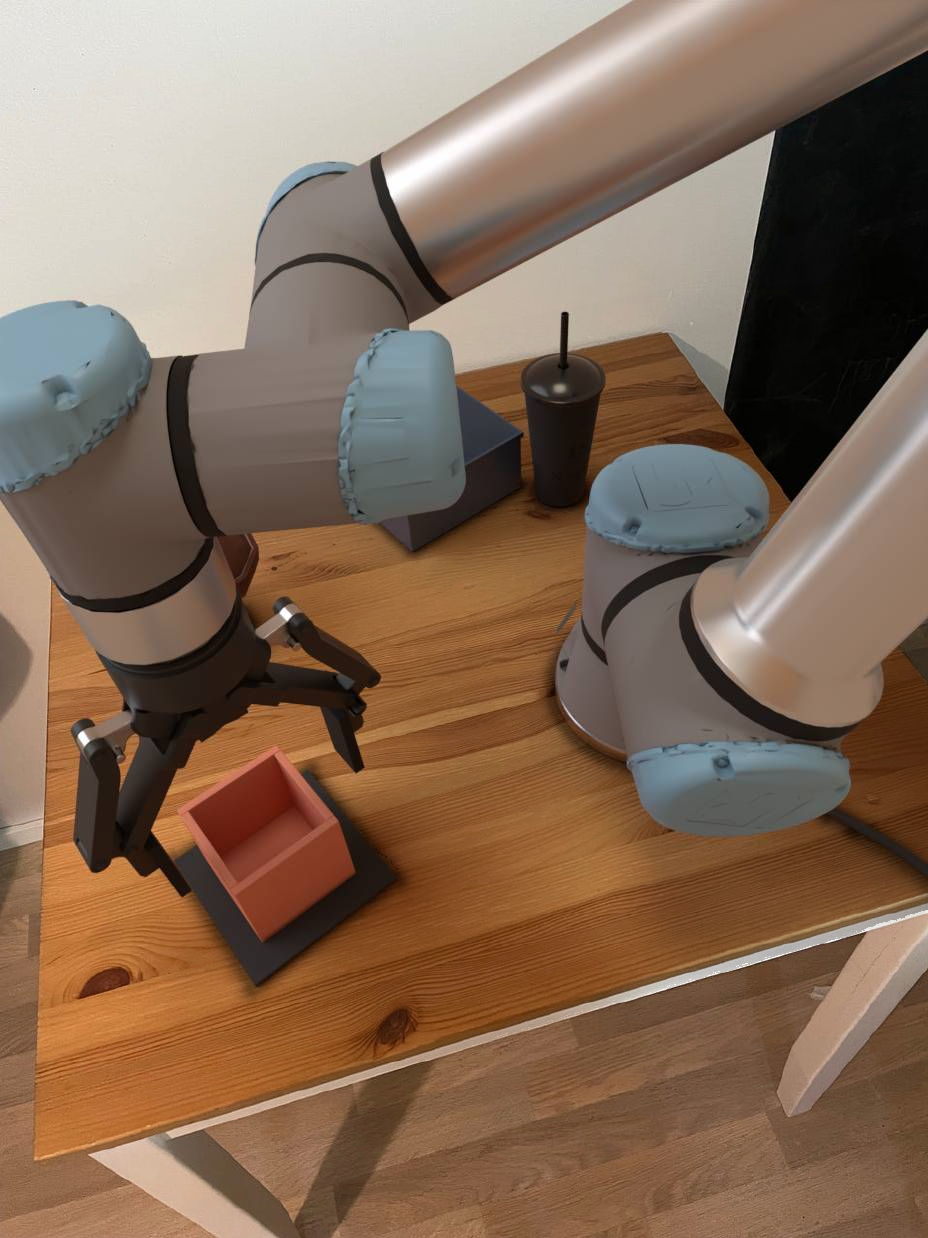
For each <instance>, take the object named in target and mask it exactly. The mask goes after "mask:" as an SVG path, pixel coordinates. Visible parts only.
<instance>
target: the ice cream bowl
mask: <svg viewBox="0 0 928 1238" xmlns="http://www.w3.org/2000/svg"><path fill="white" fill-rule="evenodd" d="M217 538H218V541H219V543H220V546H221V548H222V551H223V553H224V555H225V558H226V560H227V563H228V565H229V568H230V570H231V572H232V575H233V577H234V580H235V586H236V587H237V589H238V591H239V593H240V595H241V598H242V599H244V598H245V597H246V596H247V593H248V592H249V589H250V586H251V584H252V581H253V578H254V576H255V574H256V571H257V567H258V565H259V562H260V549H259V545H258V543H257V542H256V540H255V538H254V535H253V533H249V534H238V535H229V536H219V537H217Z"/></svg>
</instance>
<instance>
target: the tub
mask: <svg viewBox="0 0 928 1238" xmlns="http://www.w3.org/2000/svg"><path fill="white" fill-rule="evenodd" d="M301 774H302V773H300V771H299V770H298V769H297V767H296V766H295V765H294V764H293V763H292V761H290V759H289V758H288V756H287V755H286V754H285V753H284V752H283V751H282V750H281V748H280V747H279V745H277V744H275V745H273V746H272V747H270V748H269V749H267V750H266V751H265V752H263V753H262V754H260V755H258V756H257V757H256V758H254V759H252V760H251V761H250V762H247V763H246V764H245V765H243V766H242V767H240V768H239V769H237V770H236V771H234V772H233V773H231V774H229V775H228V776H226V777H225V778H223V779H222V780H220V781H219V782H218V783H216V784H214V785H213V786H211V787H210V788H208V789H206V790H205V791H204V792H202V793H201V794H199V795H197V796H196V797H195V798H193V799H191V800H190V801H188V802H187V803H186V804H184V805H182V806H181V807H179V808H178V809H177V810H176V811H177V814H178V815H179V817H180V818H181V820H182V822H183V823H184V825H185V827H186V829H187V831H188V832H189V833H190V835H191V836H192V838H193V840H194V842H195V843H196V845H198V847H199V848H200V850H201V852H202V853H203V855H204V857H205V858H206V860H207V862H208V863H209V865H210V866H211V868H212V869H213V871H214V872H215V874H216V875H217V877H218V878H219V880H220V881H221V882H222V884H223V885H224V887H225V888H226V890H227V891H228V893H229V894H230V896H231V897H232V899H233V900H234V902H235V903H236V905H237V906H238V907H239V909H240V910H241V912H242V913H243V915H244V916H245V918H246V919H247V921H248V922H249V924H250V925H251V927H252V928H253V930H254V931H255V933H256V934H257V935H258V937H259V938H260V940H261V941H262V942H264V941H266V940H267V939H268V938H270V937H271V936H272V935H274V934H275V933H276V932H278V931H279V930H281V929H282V928H283V927H285V926H286V925H287V924H289V923H290V922H291V921H293V920H294V919H295V918H297V917H298V916H299V915H301V914H302V913H303V912H305V911H306V910H307V909H309V908H310V907H311V906H313V905H314V904H315V903H317V902H318V901H319V900H321V899H322V898H323V897H325V896H326V895H327V894H329V893H330V892H331V891H333V890H334V889H335V888H337V887H338V886H339V885H341V884H342V883H344V882H345V881H346V880H348V879H349V878H350V877H352V876H353V875H354V874H355V873H356V872H355V869H354V866H353V863H352V860H351V857H350V854H349V851H348V848H347V845H346V842H345V839H344V836H343V833H342V830H341V827H340V824H339V821H338V820H337V818H336V817H335V816H334V815H333V813H332V812H331V811H330V810H329V809H328V807H327V806H326V805H325V804H324V802H323V801H322V800H321V799H320V797H319V796H318V795H317V794H316V793H315V791H314V790H313V789H312V788H311V786H310V785H309V784H308V783H307V781H306V780H305V779H304V778H303V776H302V775H301Z"/></svg>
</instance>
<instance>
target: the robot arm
mask: <svg viewBox="0 0 928 1238" xmlns="http://www.w3.org/2000/svg"><path fill="white" fill-rule="evenodd" d="M927 51H928V0H630V1H629V2H627V3H625V4H623V6H621V7H619V8H617V9H615V10H614V11H613V12H611V13H609V14H608V15H606V16H605V17H603V18H600V19H599V20H598V21H596V22H594V23H593V24H591V25H590V26H588V27H586V28H584V29H583V30H581V31H580V32H578V33H576V34H575V35H572V36H571V37H570V38H568V39H566V40H565V41H563V42H561V43H560V44H559V45H556V46H555V47H554V48H552V49H550V50H548V51H547V52H545V53H543V54H542V55H540V56H539V57H536V59H534V60H532V61H530V62H528V63H527V64H526V65H524V66H522V67H520V68H519V69H517V70H516V71H515V72H512V73H511V74H509V75H507V76H506V77H504V78H503V79H501V80H499V81H498V82H496V83H494V84H492V85H491V86H489V87H488V88H486V89H484V90H483V91H481V92H480V93H478V94H476V95H474V96H473V97H471V98H470V99H468V100H466V101H464V102H463V103H461V104H460V105H457V107H455V108H453V109H451V110H450V111H448V112H447V113H444V114H443V115H442V116H440V117H438V118H437V119H435V120H433V121H432V122H430V123H428V124H426V125H425V126H423V127H422V128H420V129H419V130H417V131H415V132H414V133H412V134H410V135H409V136H407V137H406V138H404V139H402V140H401V141H399V142H397V143H396V144H394V145H392V146H391V147H389V148H388V149H385V150H383V151H382V152H380V153H378V154H377V155H375V156H373V157H371V158H370V159H367V160H366V161H364V162H363V163H361V164H359V165H356V164H354V163H351V162H347V161H330V160H329V161H321V162H313V163H309V164H306V165H303V166H302V167H300V168H298V169H296V170H295V171H293V172H292V173H290V174H289V175H288V176H286V177H285V178H284V179H283V180H282V182H280V183H279V185H278V186H277V188H276V189H275V191H274V192H273V194H272V196H271V198H270V200H269V202H268V205H267V208H266V212H265V214H264V215H265V216H264V217H262V220H261V222H260V225H259V228H258V232H257V235H256V241H255V251H254V267H255V268H254V277H253V285H252V292H251V302H250V308H249V314H248V322H247V328H246V336H245V340H244V341H245V342H244V348H237V349H227V350H219V351H211V352H203V353H198V354H190V355H189V354H188V355H172V356H163V357H162V356H161V357H151V354H150V351H149V350H148V349H147V343H145V342H143V341H142V340H141V339H140V338H139V335H138V333H137V331H136V329H135V328H134V326H133V325H132V322H130V320H128V319H127V318H126V317H125V316H124V315H122V314H121V313H120V312H118V311H117V310H116V309H114V308H112V307H109V306H105V305H102V304H92V305H89V306H88V305H87V304H86V303H84V302H83V301H78V300H76V299H75V300H73V299H72V300H70V299H69V300H56V301H47V302H44V303H43V302H42V303H38V304H33V305H31V306H27V307H23V308H20V309H17V310H15V311H12V312H9V313H8V314H5V315H3V316H1V317H0V502H1V504H2V506H4V508H5V509H6V511H7V512H8V514H9V516H10V517H11V518H12V519H13V521H14V522H15V524H16V525H17V527H18V528H19V530H20V531H21V532H22V534H23V536H24V537H25V538H26V540H27V542H28V543H29V545H30V547H31V548H32V550H33V551H34V553H35V554H36V556H37V557H38V559H39V560H40V561H41V563H42V565H43V567H44V568H45V569H46V571H47V573H48V576H49V579H50V581H51V582H52V583H53V584H54V586H55V587H56V589H57V591H58V593H59V596H60V597H61V599H62V601H63V603H64V605H65V606H66V607H67V610H68V611H69V613H70V614H71V616H72V617H73V619H74V620H75V622H76V624H77V626H78V627H79V629H80V630H81V632H82V633H83V635H84V637H85V638H86V640H87V641H88V644H89V645H90V646H91V647H92V648H93V650H94V652H95V654H96V656H97V657H98V659H99V661H100V662H101V664H102V666H103V667H104V669H105V670H106V672H107V674H108V675H109V678H110V679H111V680H112V682H113V683H114V684H115V687H116V688H117V690H118V691H119V693H120V695H121V696H122V706H121V712H119V713H117V714H116V715H113V716H112V717H110V718H107V719H106V720H104V721H102V722H100V723H98V724H95V722H94V721H93V720H92V719H91V718H88V717H87V718H86V717H85V718H81V719H79V720H77V721H75V722H74V723H73V724H72V726H71V727H70V734H71V736H72V738H73V740H74V743H75V744H76V746H77V749H78V750H79V761H78V762H79V763H78V774H77V775H78V776H77V789H76V799H75V814H74V823H73V824H74V825H73V834H72V835H73V836H72V840H73V843H74V845H75V847H76V848H77V850H78V851H79V853H80V855H81V858H82V859H83V860H84V862H85V864H86V866H87V867H88V869H89V871H90V872H91V873H93V874H99V873H102V872H104V871H106V870H107V869H108V868H109V867H110V865H111V864H112V860H114V859H117V858H124V859H126V860H127V862H128V863H129V864H130V865H131V867H132V868H133V869H134V870H135V871H136V873H137V874H138V875H139V876H140V877H143V878H148V877H149V876H150V875H152V874H153V873H155V872H156V871H158V870H160V871H161V872H162V874H163V875H164V876H165V878H166V879H167V880H168V881H169V883H170V885H171V886H172V887H173V888H174V889H175V891H176V893H177V894H178V895H179V896H180V898H184V897H185V896H187V895H188V894H189V893H190V892H192V891H193V889H192V888H191V886H190V885H189V883H188V882H187V880H186V879H185V877H184V876H183V874H182V873H181V871H180V870H179V868H178V867H177V865H176V863H175V862H174V860H173V859H172V858H171V856H170V855H169V853H168V851H166V849H165V848H164V846H163V845H162V844H161V842H160V841H159V839H158V838H157V837H156V835H155V834H154V833H153V831H152V829H153V826H154V824H155V822H156V819H157V818H158V815H159V813H160V811H161V808H162V806H163V804H164V802H165V799H166V797H167V794H168V792H169V789H170V787H171V785H172V784H173V781H174V779H175V776H176V773H177V771H178V770H181V769H185V767H186V766H187V763H188V761H189V759H190V757H191V755H192V752H193V749H194V747H195V745H196V743H197V742H198V741H199V742H200V743H203V742H205V741H206V740H209V739H210V738H211V737H213V736H214V735H216V734H217V733H218V732H219V731H220V730H221V729H222V728H223V727H225V726H226V725H228V724H230V723H233V722H236V721H238V720H239V719H240V718H242V717H244V716H245V715H246V714H248V713H249V710H248V709H249V708H250V707H251V706H252V705H255V706H256V705H257V706H267V707H275V708H276V707H278V706H279V705H280V704H281V703H282V704H292V705H298V706H299V705H300V706H309V707H317V708H320V712H321V714H322V717H323V721H324V723H325V727H326V729H327V732H328V736H329V737H330V740H331V744H332V746H333V749H334V750H335V751H336V753H337V754H338V755H339V756H340V758H342V760H343V761H344V762H345V763H346V764H347V765H348V767H349V768H350V769H351V770H352V772H354V774H356V775H357V774H358V773H360V772H361V771H362V770H364V769H365V763H364V761H363V757H362V754H361V751H360V747H359V743H358V740H357V737H356V734H355V733H356V732H358V731H359V730H360V729H362V728H363V727H364V721H365V719H364V716H363V714H364V713H365V712H366V710H367V709H368V704H367V702H366V701H365V700H364V699H363V698H362V697H361V696H360V694H361V693H362V692H363V690H365V689H366V688H367V689H373V688H376V686H378V684H379V683H381V680H382V675H381V673H379V671H378V670H377V669H376V668H375V667H374V666H373V665H372V664H371V663H370V661H368V660H367V659H366V658H365V657H364V656H363V655H362V654H361V653H360V652H359V651H357V650H356V649H354V648H353V647H351V646H349V645H348V644H347V643H344V642H343V641H341V640H340V639H338V638H336V637H335V636H333V635H331V634H330V633H328V632H327V631H325V630H323V629H321V628H320V627H318V626H316V625H315V624H314V622H313V621H312V619H310V618H309V617H308V615H306V613H305V612H303V610H301V608H300V607H299V606H298V605H297V604H296V603H295V602H294V601H293V600H292V599H291V598H290V597H289V596H285V595H284V596H281V597H279V598H277V599H276V600H275V601H274V603H273V605H272V612H273V614H274V616H272V617H271V618H269V619H268V620H267V621H265V622H264V623H262V624H261V625H260V626H258V627H257V628H254V625H253V623H252V621H251V619H250V615H249V613H248V611H247V608H246V606H245V603H244V600H243V598H241V595H240V593H239V591H238V589H237V587H236V586H235V580H234V577H233V575H232V572H231V570H230V568H229V565H228V563H227V560H226V558H225V555H224V553H223V551H222V548H221V546H220V543H219V541H218V538H217V537H219V536H229V535H238V534H249V533H251V534H257V533H271V532H280V531H292V530H301V529H313V528H323V527H325V528H326V527H335V526H343V525H356V524H359V525H363V526H367V525H377V524H380V523H379V522H380V521H382V520H384V519H389V518H395V517H401V516H407V515H413V514H418V513H424V512H430V511H436V510H442V509H445V508H448V507H450V506H451V505H453V504H454V503H455V502H456V501H457V500H458V499H459V498H460V497H461V495H462V493H463V491H464V488H465V484H466V474H465V464H464V455H463V444H462V434H461V425H460V415H459V406H458V396H457V387H456V385H457V380H456V371H455V361H454V354H453V349H452V346H451V343H450V341H449V340H448V338H446V337H445V336H444V335H443V333H441V332H438V331H435V330H432V329H431V330H430V329H425V330H424V329H423V330H422V329H421V330H419V329H417V330H416V329H415V330H410V324H412V323H414V322H416V321H418V320H420V319H422V318H424V317H426V316H427V315H430V314H432V313H434V312H435V311H437V310H438V309H440V308H441V307H443V306H444V305H447V304H449V303H450V302H451V301H454V300H456V299H457V298H459V297H461V296H463V295H465V294H467V293H469V292H472V291H473V290H474V289H476V288H478V287H481V286H482V285H484V284H486V283H488V282H490V281H492V280H493V279H495V278H498V277H500V276H501V275H503V274H505V273H507V272H509V271H511V270H513V269H515V268H517V267H519V266H521V265H522V264H524V263H526V262H528V261H529V260H532V259H533V258H535V257H537V256H539V255H541V254H543V253H545V252H546V251H549V250H551V249H553V248H555V247H556V246H558V245H560V244H562V243H564V242H566V241H568V240H570V239H572V238H574V237H575V236H577V235H579V234H581V233H583V232H586V231H587V230H589V229H590V228H592V227H594V226H596V225H598V224H600V223H602V222H604V221H606V220H608V219H610V218H611V217H612V218H613V216H615V215H617V214H620V213H621V212H623V211H625V210H627V209H628V208H630V207H632V206H634V205H636V204H638V203H640V202H643V201H644V200H645V199H648V198H650V197H652V196H653V195H655V194H657V193H659V192H662V191H663V190H665V189H667V188H669V187H670V186H673V185H674V184H676V183H678V182H680V181H682V180H684V179H685V178H688V177H690V176H691V175H694V174H696V173H697V172H699V171H701V170H703V169H704V168H707V167H709V166H710V165H712V164H714V163H716V162H718V161H719V160H722V159H724V158H725V157H728V156H729V155H731V154H733V153H735V152H737V151H739V150H741V149H743V148H745V147H747V146H749V145H750V144H752V143H754V142H756V141H758V140H760V139H762V138H764V137H766V136H767V135H769V134H772V133H773V132H775V131H776V130H779V129H781V128H783V127H785V126H787V125H788V124H791V123H792V122H794V121H796V120H798V119H799V118H801V117H802V118H803V116H805V115H808V114H809V113H811V112H814V111H815V110H817V109H819V108H820V107H823V106H824V105H827V104H828V103H830V102H833V101H834V100H836V99H838V98H839V97H842V96H844V95H845V94H847V93H849V92H851V91H854V90H855V89H857V88H859V87H861V86H863V85H865V84H866V83H868V82H870V81H872V80H874V79H877V78H878V77H880V76H882V75H884V74H886V73H887V72H889V71H892V70H893V69H894V68H895V69H896V68H897V67H899V66H900V65H903V64H904V63H906V62H908V61H911V60H912V59H914V58H916V57H918V56H920V55H922V54H924V53H925V52H927ZM868 403H869V404H867V406H866V407H865V408H864V410H863V411H862V412H861V413H860V415H859V416H858V417H857V419H856V420H855V421H854V423H853V424H852V425H851V427H850V428H849V429H848V430H847V431H846V433H845V434H844V435H843V437H842V438H841V439H840V440H839V442H838V443H837V444H836V445H835V447H834V448H833V450H832V451H830V453H829V454H828V456H827V457H826V458H825V460H824V461H823V462H822V463H821V465H819V467H818V468H817V470H816V471H815V472H814V474H813V475H812V476H811V477H810V479H809V480H808V481H807V483H806V484H805V485H804V486H803V488H802V489H801V490H800V492H799V493H798V494H797V495H796V497H795V498H794V499H793V500H792V502H791V503H790V504H789V505H788V507H787V508H786V509H785V511H784V512H783V513H782V515H780V517H779V518H778V519H777V521H776V522H775V523H774V525H773V526H772V527H771V529H770V530H769V531H768V532H767V534H765V536H764V538H763V534H764V532H765V530H766V529H767V528H768V525H769V522H770V518H771V514H770V512H769V511H770V509H769V508H770V494H769V490H768V487H767V485H766V483H765V481H764V480H763V479H762V477H761V476H760V475H759V473H758V472H757V471H756V470H755V469H754V468H753V467H751V466H750V465H749V464H747V463H746V462H745V461H742V460H741V459H740V458H737V457H735V456H733V455H732V454H728V453H726V452H721V451H717V450H715V449H713V448H711V447H706V446H702V445H696V444H686V443H684V444H683V443H666V444H655V445H649V446H645V447H640V448H637V449H634V450H631V451H629V452H626V453H624V454H622V455H620V456H618V457H617V458H616V459H615V460H613V462H612V463H610V464H607V465H606V466H605V467H603V468H602V469H601V471H599V473H598V474H597V475H596V477H595V479H594V480H593V482H592V485H591V488H590V493H589V499H588V504H587V506H586V507H585V511H584V523H585V524H586V533H585V547H584V563H583V579H582V595H581V596H582V597H581V614H580V616H579V617H578V619H577V621H576V623H575V624H574V625H573V627H572V629H571V630H570V632H569V634H568V635H567V637H566V639H565V640H564V642H563V644H562V646H561V648H560V651H559V653H558V656H557V659H556V663H555V673H554V692H555V693H554V694H555V698H556V703H557V705H558V708H559V711H560V713H561V715H562V717H563V719H564V720H565V722H566V724H567V726H569V727H570V729H571V730H572V731H573V733H574V734H575V735H577V737H578V738H579V739H581V740H582V741H583V742H584V743H586V745H588V746H590V747H591V748H592V749H594V750H596V751H597V752H599V753H601V754H603V755H605V756H607V757H609V758H612V759H613V760H618V761H620V762H624V763H626V769H628V771H629V772H630V773H631V774H632V778H633V781H634V785H635V788H636V791H637V796H638V799H639V801H640V804H641V806H642V808H643V810H644V811H645V812H647V814H648V815H649V816H650V817H651V818H652V819H653V820H654V821H656V822H657V823H658V824H659V825H661V826H663V827H664V828H666V829H669V830H671V831H674V832H678V833H680V834H681V833H682V834H685V835H691V836H697V837H698V836H699V837H708V838H709V837H711V838H733V837H736V838H737V837H747V836H754V835H761V834H766V833H773V832H778V831H782V830H786V829H790V828H794V827H796V826H799V825H802V824H805V823H808V822H811V821H813V820H815V819H817V818H819V817H821V816H824V815H825V814H826V815H828V816H829V817H831V818H833V819H834V820H836V821H838V822H839V823H841V824H843V825H844V826H847V827H848V828H850V829H852V830H854V831H855V832H857V833H859V834H861V835H863V836H864V837H866V838H868V839H869V840H871V841H873V842H875V843H877V844H879V845H880V846H882V847H883V848H885V849H886V850H888V851H890V852H891V853H892V854H894V855H896V856H897V857H899V858H900V859H901V860H903V861H904V862H906V863H907V864H908V865H909V866H911V867H912V868H914V869H915V870H916V871H918V872H919V873H920V874H922V875H923V876H924V877H925V878H926V879H928V863H927V862H925V861H924V860H923V859H922V858H920V857H919V856H918V855H916V854H915V853H914V852H912V851H911V850H909V849H908V848H907V847H905V846H903V845H902V844H901V843H899V842H897V841H896V840H894V839H892V838H891V837H890V836H888V835H886V834H884V833H883V832H880V831H879V830H878V829H876V828H874V827H873V826H870V825H868V824H867V823H865V822H863V821H861V820H859V819H858V818H856V817H854V816H852V815H851V814H849V813H847V812H845V811H844V810H842V809H840V808H839V807H838V806H839V805H840V804H841V803H842V802H843V801H844V800H845V799H846V798H847V796H848V795H849V792H850V790H851V787H852V780H851V776H850V769H851V766H852V765H850V760H849V758H848V757H847V756H845V755H844V754H843V752H842V749H841V743H842V741H843V740H844V738H845V737H847V735H849V734H850V733H851V732H852V731H853V730H854V729H856V728H857V727H858V726H859V724H861V723H862V722H863V721H864V720H865V719H867V718H868V717H869V716H870V715H871V714H872V712H873V711H874V710H875V709H876V707H877V706H878V705H879V703H880V701H881V699H882V696H883V691H884V683H885V680H884V672H883V667H882V662H883V661H884V660H885V659H887V657H888V656H889V655H890V654H891V653H892V652H893V651H894V650H896V649H897V648H898V647H899V646H900V645H901V644H902V643H903V642H904V641H905V640H906V639H908V637H909V636H911V635H912V633H913V632H914V631H916V629H918V628H919V627H920V626H921V625H922V624H923V623H924V622H925V621H926V620H928V328H927V329H926V331H925V332H923V335H922V336H921V337H920V338H919V339H918V341H917V342H916V343H915V345H914V346H913V347H912V349H911V350H910V351H909V352H908V354H907V355H906V356H905V358H904V359H902V361H901V363H899V365H898V366H897V367H896V368H895V370H894V371H893V372H892V374H891V375H890V376H889V378H888V379H887V380H886V381H885V382H884V384H883V385H882V387H881V388H880V389H879V391H877V393H876V395H875V396H874V397H873V398H872V399H871V401H870V402H868ZM576 609H577V600H575V602H574V603H573V604H572V606H571V608H569V610H568V612H567V613H566V614H565V616H564V618H563V619H562V620H561V622H560V623H559V624H558V626H556V636H558V635H559V634H560V632H561V631H562V629H563V628H564V626H566V624H567V622H568V621H569V620H570V618H571V616H572V615H573V614H574V612H575V611H576ZM275 646H281V647H283V648H284V649H290V648H291V650H293V651H294V652H298V651H299V650H301V649H302V650H303V651H304V652H305V653H306V654H307V655H308V656H309V657H311V658H312V659H315V661H318V662H320V663H322V664H323V665H325V666H327V667H328V668H330V669H333V670H334V671H330V670H323V669H316V668H310V667H303V666H298V665H293V664H292V665H291V664H285V663H279V662H273V661H271V658H272V648H273V647H275ZM135 734H136V735H137V737H138V745H137V748H136V750H135V753H134V755H133V757H132V760H131V762H130V765H129V767H128V770H127V772H126V775H125V777H124V780H123V782H122V784H121V778H122V775H121V768H120V766H119V765H121V764H123V763H125V761H126V760H127V757H126V755H125V752H126V748H127V742H128V741H129V739H130V737H132V736H134V735H135Z"/></svg>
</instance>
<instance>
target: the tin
mask: <svg viewBox="0 0 928 1238" xmlns="http://www.w3.org/2000/svg"><path fill="white" fill-rule="evenodd" d="M456 387H457V396H458V406H459V415H460V425H461V434H462V444H463V455H464V464H465V474H466V484H465V488H464V491H463V493H462V495H461V497H460V498H459V499H458V500H457V501H456V502H455V503H454V504H453V505H451V506H450V507H448V508H445V509H442V510H436V511H430V512H424V513H418V514H413V515H407V516H401V517H395V518H389V519H384V520H382V521H380V522H379V523H378V524H380V525H382V526H383V527H384V528H385V529H386V530H387V531H388V532H389V533H391V535H393V536H394V538H396V539H397V540H398V541H399V542H401V543H402V544H403V545H404V546H405V547H406V548H407V549H409V550H410V551H411V552H413V553H414V552H415V551H416V550H419V549H420V548H422V547H423V546H425V545H427V544H428V543H430V542H432V541H433V540H435V539H437V538H438V537H440V536H441V535H444V534H445V533H446V532H449V531H450V530H452V529H453V528H455V527H457V526H458V525H460V524H462V523H463V522H465V521H466V520H468V519H470V518H471V517H473V516H475V515H477V514H478V513H479V512H481V511H483V510H485V509H486V508H488V507H490V506H492V505H494V503H496V502H498V501H500V500H501V499H503V498H505V497H506V496H508V495H510V494H511V493H513V492H515V491H516V490H518V489H520V488H521V487H522V444H521V443H522V438H524V436H525V435H524V434H525V432H524V431H523V430H521V429H520V428H519V427H517V426H516V425H514V424H513V423H512V422H510V421H509V420H508V419H506V418H504V417H503V416H501V415H500V414H499V413H497V412H495V411H494V410H493V409H491V408H490V407H489V406H487V405H486V404H484V403H483V402H481V401H480V400H479V399H477V398H476V397H474V396H473V395H472V394H470V393H469V392H467V391H466V390H464V389H463V388H462V387H460V386H459V385H457V384H456Z"/></svg>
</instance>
